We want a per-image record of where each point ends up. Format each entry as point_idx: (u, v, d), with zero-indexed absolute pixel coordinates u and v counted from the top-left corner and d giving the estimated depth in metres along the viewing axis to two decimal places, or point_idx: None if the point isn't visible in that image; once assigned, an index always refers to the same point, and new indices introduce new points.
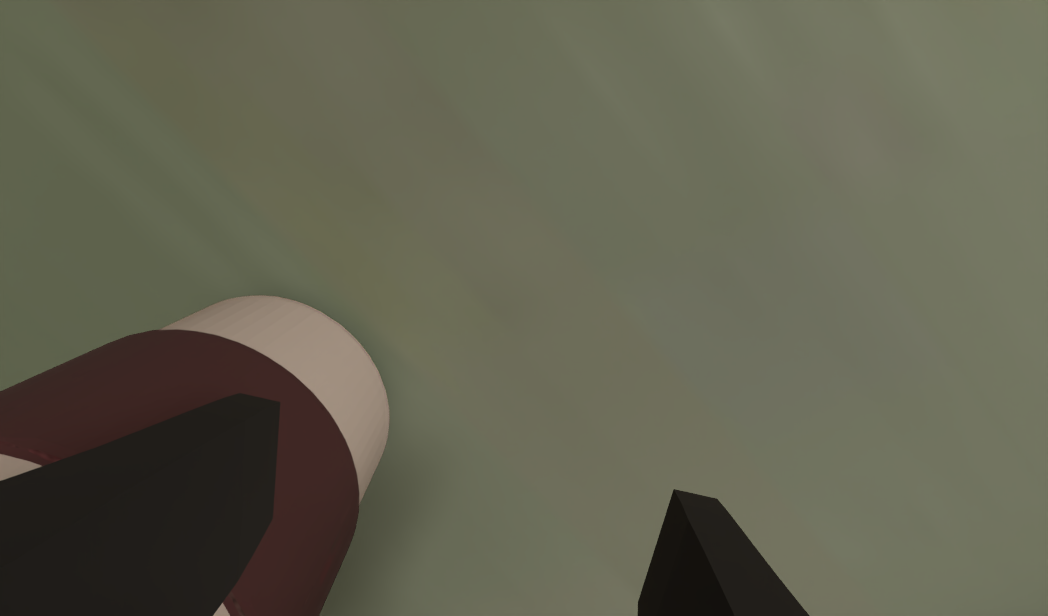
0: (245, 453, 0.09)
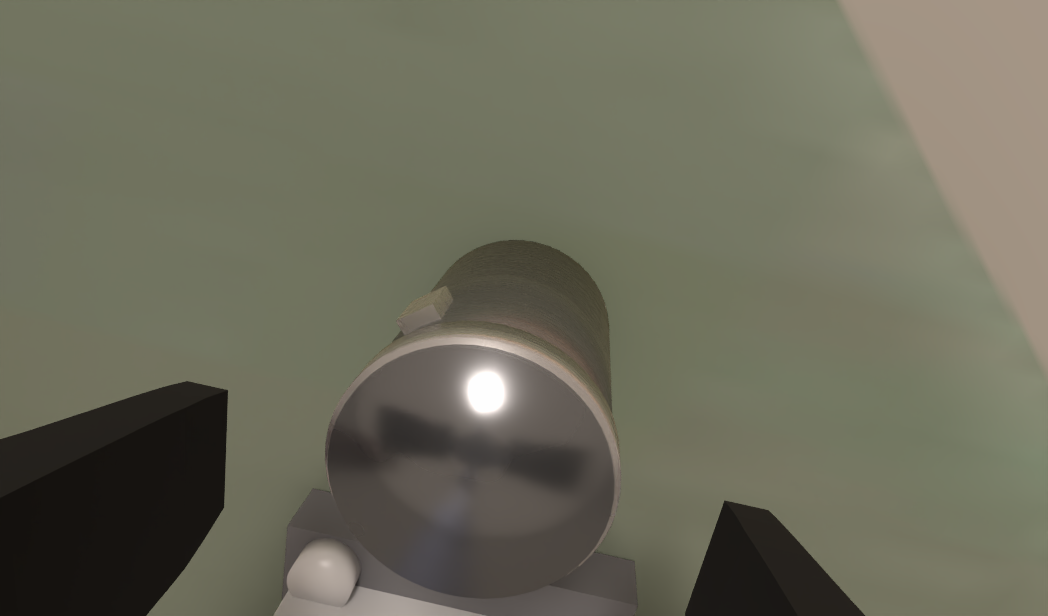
0: (188, 440, 0.09)
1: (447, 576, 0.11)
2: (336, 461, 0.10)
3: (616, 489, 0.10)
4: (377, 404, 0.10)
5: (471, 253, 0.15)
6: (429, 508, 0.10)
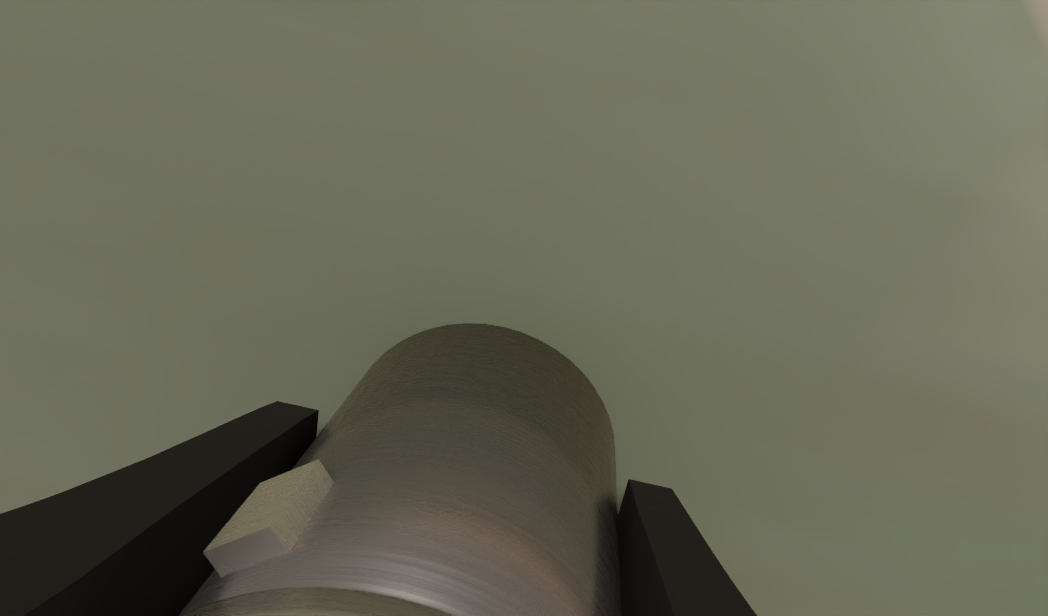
0: (286, 462, 0.08)
1: None
2: None
3: None
4: None
5: (404, 346, 0.10)
6: None
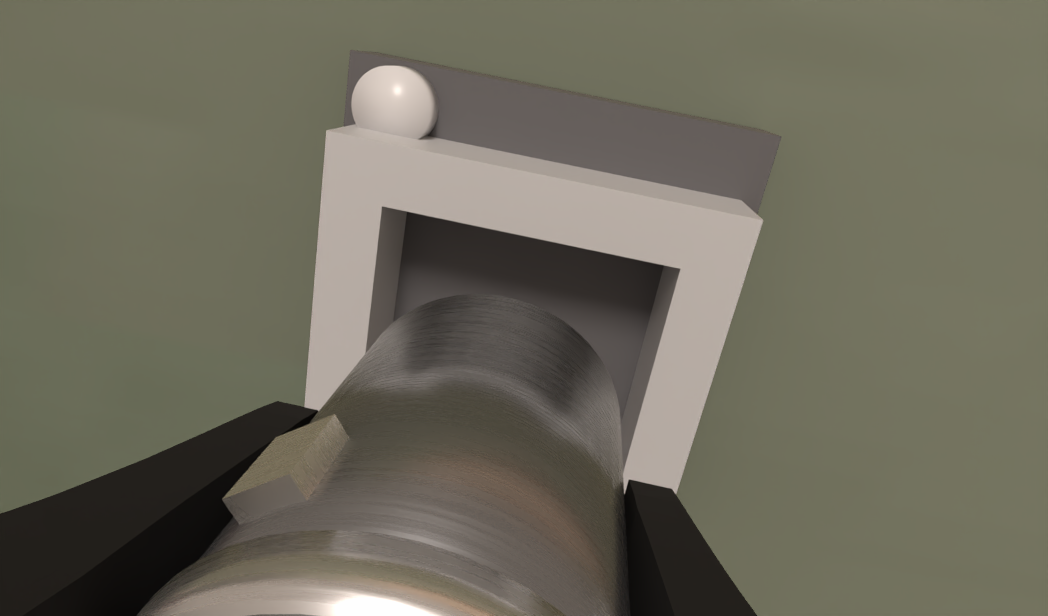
0: None
1: None
2: None
3: None
4: None
5: (413, 314, 0.10)
6: None
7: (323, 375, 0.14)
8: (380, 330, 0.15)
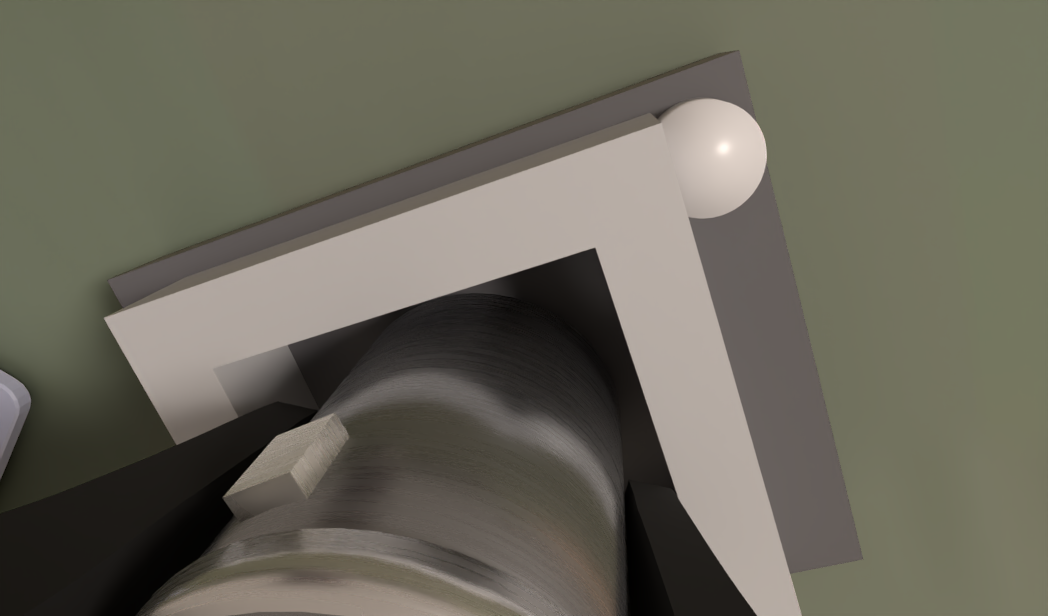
0: None
1: None
2: None
3: None
4: None
5: (414, 313, 0.10)
6: None
7: (303, 276, 0.09)
8: None
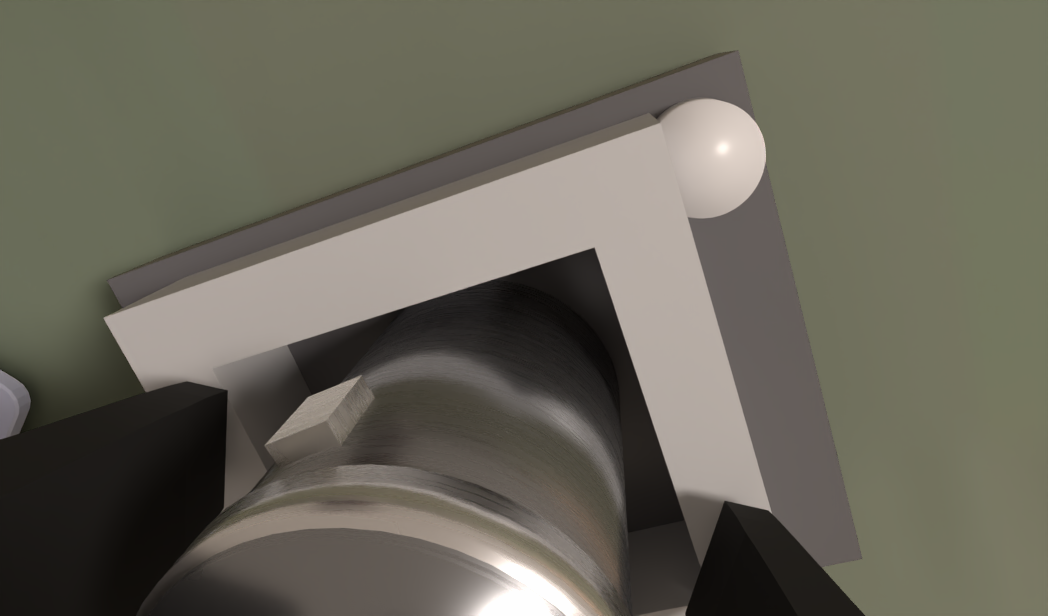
0: (188, 440, 0.09)
1: None
2: None
3: None
4: None
5: None
6: None
7: (302, 276, 0.09)
8: None
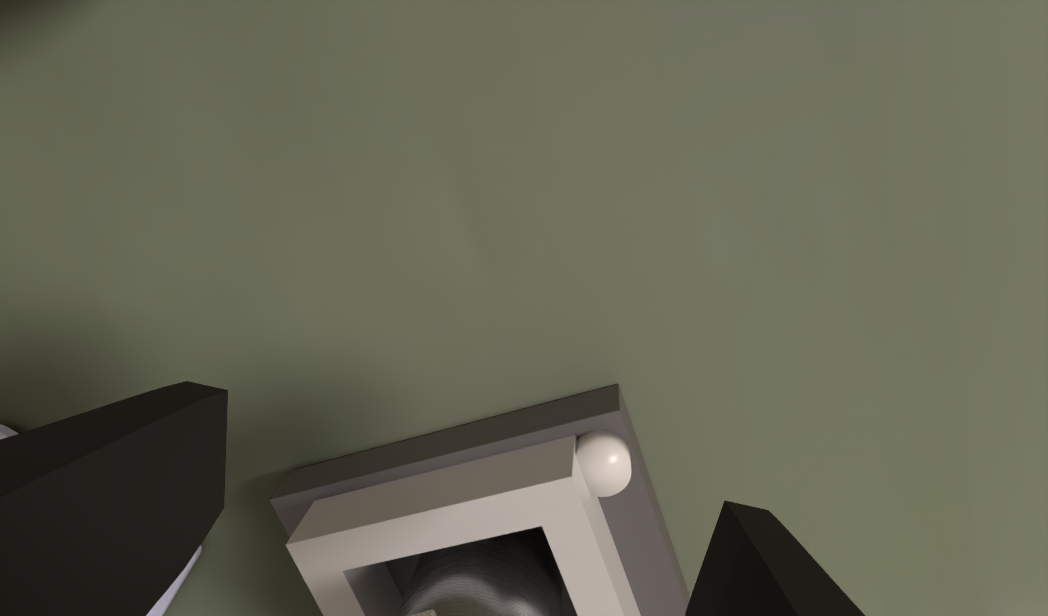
0: (188, 440, 0.09)
1: None
2: None
3: None
4: None
5: None
6: None
7: (393, 531, 0.18)
8: None
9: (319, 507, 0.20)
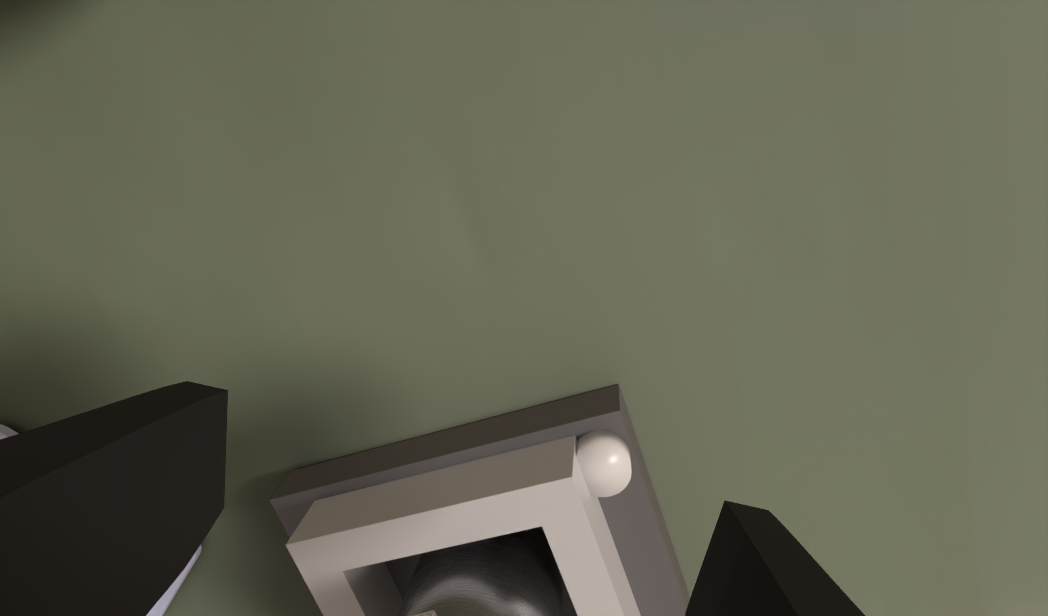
0: (188, 440, 0.09)
1: None
2: None
3: None
4: None
5: None
6: None
7: (393, 531, 0.18)
8: None
9: (319, 507, 0.20)
